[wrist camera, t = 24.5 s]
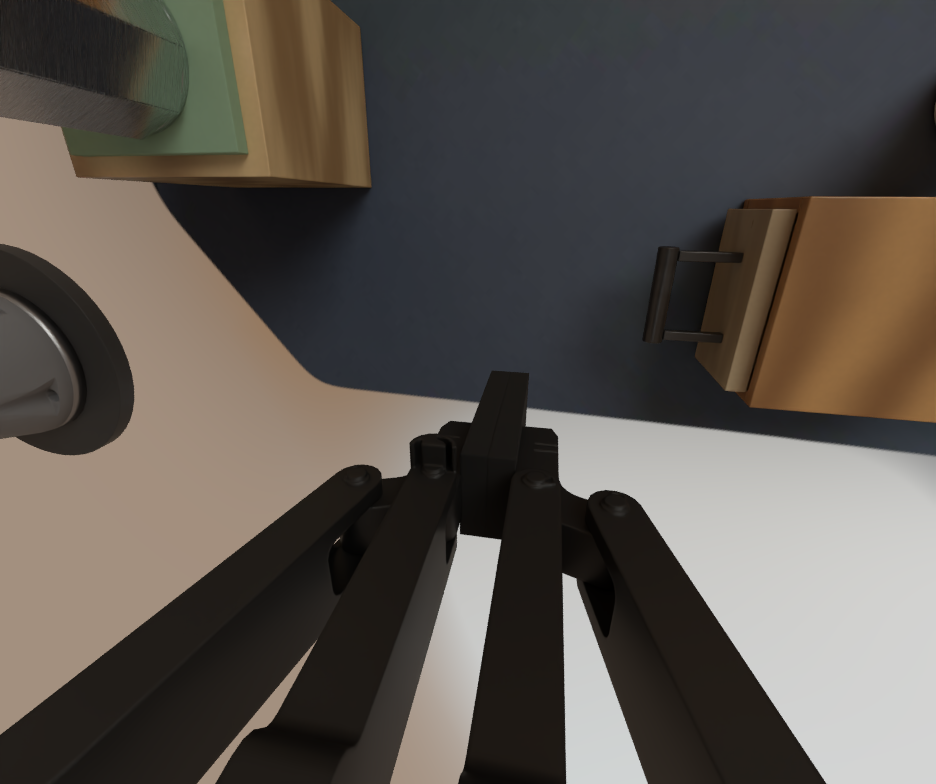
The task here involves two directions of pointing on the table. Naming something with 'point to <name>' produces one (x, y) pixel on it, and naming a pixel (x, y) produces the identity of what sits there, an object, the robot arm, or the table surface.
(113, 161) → the stand
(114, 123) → the metal cup
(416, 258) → the table surface
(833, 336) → the cabinet
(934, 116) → the pill bottle
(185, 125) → the mat
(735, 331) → the drawer
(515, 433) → the robot arm
